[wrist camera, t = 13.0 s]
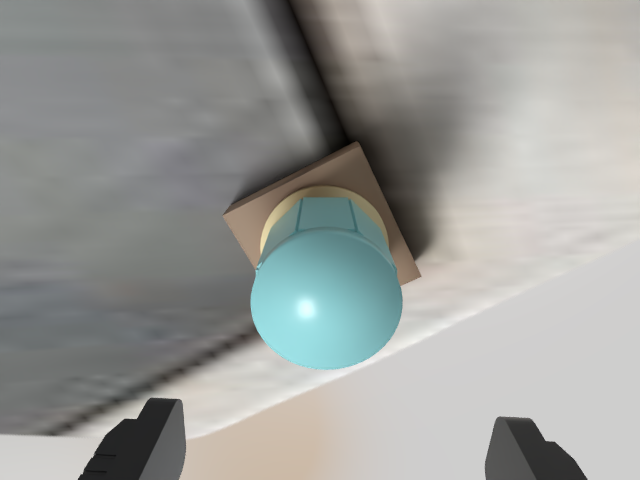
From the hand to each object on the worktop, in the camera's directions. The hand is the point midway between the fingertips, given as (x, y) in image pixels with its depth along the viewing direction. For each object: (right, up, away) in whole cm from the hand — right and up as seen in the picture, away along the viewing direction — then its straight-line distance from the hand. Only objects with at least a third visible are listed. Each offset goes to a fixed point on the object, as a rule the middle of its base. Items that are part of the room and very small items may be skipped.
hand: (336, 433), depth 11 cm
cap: (0, +4, +12) cm, 12 cm away
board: (0, +5, +14) cm, 15 cm away
